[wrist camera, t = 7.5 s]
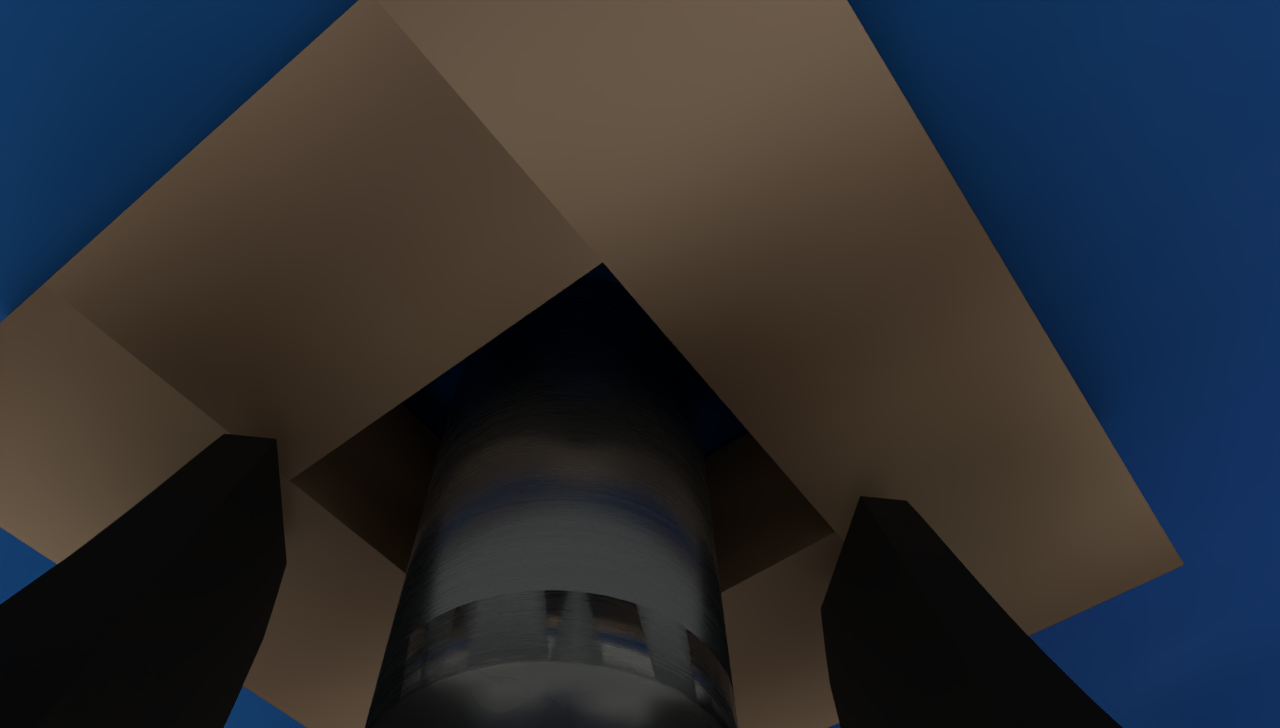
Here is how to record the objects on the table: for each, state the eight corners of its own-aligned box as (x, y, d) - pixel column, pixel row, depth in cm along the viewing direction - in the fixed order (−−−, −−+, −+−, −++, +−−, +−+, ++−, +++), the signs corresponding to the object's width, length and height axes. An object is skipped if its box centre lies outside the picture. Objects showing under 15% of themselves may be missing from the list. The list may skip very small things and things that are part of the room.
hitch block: (1090, 434, 15) (1183, 564, 13) (534, 722, 19) (521, 868, 16) (661, -271, 10) (675, -287, 8) (6, 318, 14) (-132, 441, 11)
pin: (737, 401, 15) (815, 815, 9) (558, 503, 16) (522, 933, 10) (602, 232, 13) (590, 599, 7) (413, 358, 14) (269, 768, 8)
